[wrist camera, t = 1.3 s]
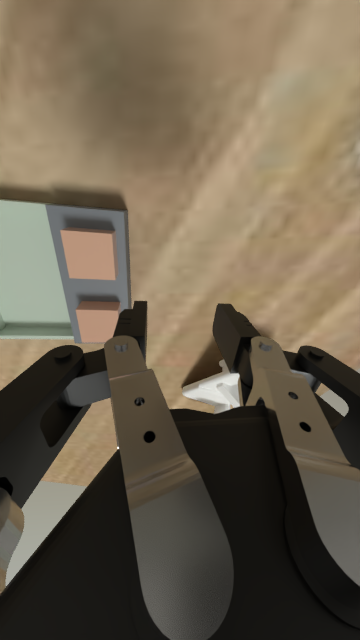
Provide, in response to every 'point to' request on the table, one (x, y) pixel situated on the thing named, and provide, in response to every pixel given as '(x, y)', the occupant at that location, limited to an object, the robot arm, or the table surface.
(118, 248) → the grey flat block
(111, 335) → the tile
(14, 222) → the tray
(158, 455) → the robot arm
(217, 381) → the tape dispenser
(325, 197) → the table surface
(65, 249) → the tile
